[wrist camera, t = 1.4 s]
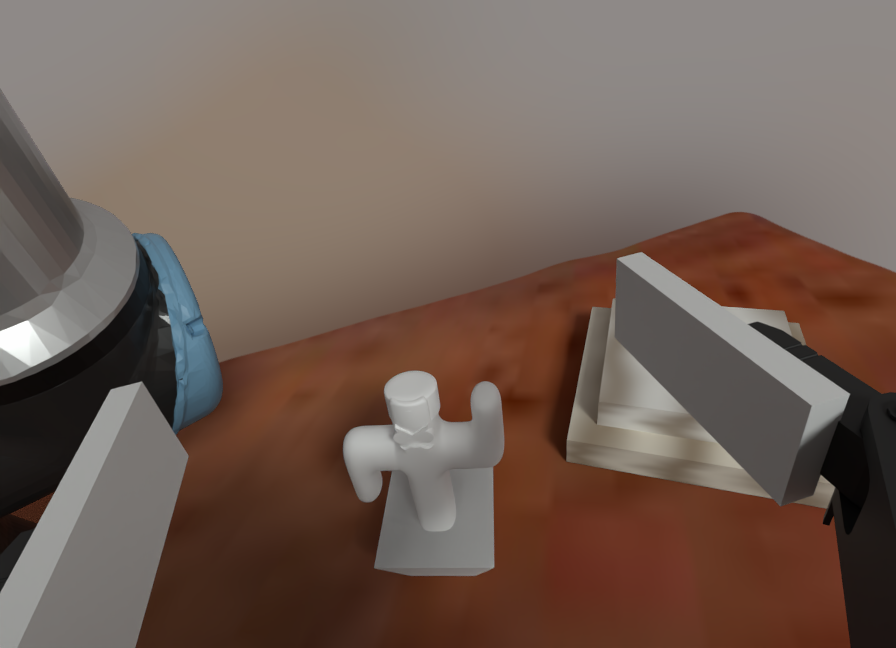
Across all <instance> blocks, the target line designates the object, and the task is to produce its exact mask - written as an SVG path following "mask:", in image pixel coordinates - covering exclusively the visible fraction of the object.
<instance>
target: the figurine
mask: <svg viewBox="0 0 896 648" xmlns="http://www.w3.org/2000/svg"><path fill="white" fill-rule="evenodd" d="M384 395H385V399H386V404H387V409H388V413H389V416H390V418H391V420H392V423H393V425H373V426H359V427H355V428H353V429H351V430H350V431H349V432H348V433H347V434H346V436H345V438H344V442H343V456H344V461H345V464H346V467H347V470H348V473H349V475H350V478H351V481H352V483H353V486H354V489H355V492H356V494H357V496H358V498H359V499H360V500H361V501H363V502H372V501H374V500H375V499H376V498H377V497H378V496H379V494H380V491H381V488H382V475H381V472H380V471H392V474H391V479H390V485H389V490H388V495H387V501H386V506H385V511H384V517H383V522H382V527H381V533H380V538H379V544H378V549H377V554H376V560H375V565H374V568H376V569H380V570H385V571H390V572H395V573H399V574H404V575H409V576H476V575H479V574H481V573H483V572H485V571H488V570H490V569H492V568H494V514H493V466H495V465H496V464H498V463H499V462H500V460H501V458H502V455H503V451H504V429H503V417H502V405H501V397H500V393H499V391H498V389H497V387H496V386H495V385H494V384H493V383H490V382H481V383H479V384H477V385H476V386H475V387H474V389H473V391H472V394H471V411H472V420H471V421H469V422H447V421H444V420H442V419H441V418H440V417H439V414H438V412H439V410H440V401H439V394H438V387H437V382H436V380H435V378H434V377H433V376H432V375H430V374H429V373H426V372H423V371H408V372H403V373H400V374H398V375H396V376H394V377H393V378H391V379H390V380H389V381H388V382H387V383H386V385H385V387H384Z"/></svg>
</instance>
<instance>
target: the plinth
mask: <svg viewBox="0 0 896 648" xmlns="http://www.w3.org/2000/svg"><path fill="white" fill-rule="evenodd" d="M615 305H616V299H613V302H612V308H600V307H592V311H591V317H590V322H589V327H588V332H587V338H586V343H585V348H584V353H583V358H582V364H581V369H580V374H579V379H578V384H577V390H576V395H575V400H574V405H573V411H572V416H571V421H570V426H569V431H568V437H567V459H566V461H567V462H572V463H578V464H583V465H589V466H594V467H600V468H606V469H611V470H617V471H622V472H628V473H633V474H639V475H644V476H650V477H655V478H661V479H666V480H672V481H677V482H683V483H688V484H694V485H700V486H705V487H711V488H716V489H722V490H727V491H733V492H738V493H744V494H749V495H755V496H760V497H766V498H771V499H773V498H772V497H771V496H770V495H769V494H768V493H767V492H766V491H765V490H764V489H763V488H762V487H761V486H760V485H759V484H758V483H757V482H756V481H755V480H754V479H753V478H752V477H751V476H750V475H749V474H748V473H747V472H746V471H745V470H744V469H743V468H742V467H741V466H740V465H739V464H738V463H737V462H736V461H735V460H734V459H733V458H732V456H731V455H730V454H729V453H728V452H727V451H726V450H725V449H724V448H723V447H722V446H721V445H720V444H719V443H718V442H717V441H716V440H715V439H714V438H713V437H712V436H711V435H710V434H709V433H708V432H707V431H706V430H705V429H704V428H703V427H702V426H701V425H700V424H699V423H698V422H697V421H696V420H695V419H694V418H693V417H692V416H691V415H690V414H689V413H688V412H687V411H686V410H685V409H684V408H683V407H682V406H681V405H680V404H679V403H678V402H677V400H676V399H675V398H674V397H673V396H672V395H671V394H670V393H669V392H668V391H667V390H666V389H665V388H664V387H663V386H662V385H661V384H660V383H659V382H658V381H657V380H656V379H655V378H654V377H653V376H652V375H651V374H650V373H649V372H648V371H647V370H646V369H645V368H644V367H643V366H642V365H641V364H640V363H639V362H638V361H637V360H636V359H635V358H634V357H633V356H632V355H631V354H630V353H629V352H628V351H627V350H626V349H625V348H624V347H623V346H622V345H621V343H620V342H619V341H618V340H617V339H616V338H615ZM721 307H722V306H721ZM723 308H724V309H726V310H727V311H729V312H730V313H732V314H733V315H735V316H736V317H738V318H739V319H740V320H742V321H743V322H745V323H746V324H750V323H753V322H757V321H758V322H761V323H764V324H767V325H769V326H772V327H775V328H778V329H781V330H783V331H784V332H786V333H787V334H789V335H791V336H792V337H794V338H795V339H797V340H798V341H800V342H801V344H802V345H806V343H805V340H804V337H803V334H802V331H801V329H800V326H799V323H788V321H787V318H786V315H785V312H784V311H776V310H763V309H749V308H735V307H723ZM834 489H835V487H834V486H833V485H832V484H831V483H830V482H829V481H827V480H826V479H825V478H824V477H823V476H822V475H821V476H820V478H819V481H818V484H817V487H816V489H815V492H814V495H813V496H810V497H807V498H804V499H801V500H798V501H795V502H794V503H799V504H805V505H810V506H816V507H821V508H827V507H828V505H829V502H830V500H831V497H832V494H833V492H834Z"/></svg>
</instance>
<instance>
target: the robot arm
mask: <svg viewBox="0 0 896 648" xmlns="http://www.w3.org/2000/svg"><path fill="white" fill-rule="evenodd" d="M615 338H616V339H617V340H618V341H619V342H620V343H621V345H622V346H623V347H624V348H625V349H626V350H627V351H628V352H629V353H630V354H631V355H632V356H633V357H634V358H635V359H636V360H637V361H638V362H639V363H640V364H641V365H642V366H643V367H644V368H645V369H646V370H647V371H648V372H649V373H650V374H651V375H652V376H653V377H654V378H655V379H656V380H657V381H658V382H659V383H660V384H661V385H662V386H663V387H664V388H665V389H666V390H667V391H668V392H669V393H670V394H671V395H672V396H673V397H674V398H675V399H676V400H677V402H678V403H679V404H680V405H681V406H682V407H683V408H684V409H685V410H686V411H687V412H688V413H689V414H690V415H691V416H692V417H693V418H694V419H695V420H696V421H697V422H698V423H699V424H700V425H701V426H702V427H703V428H704V429H705V430H706V431H707V432H708V433H709V434H710V435H711V436H712V437H713V438H714V439H715V440H716V441H717V442H718V443H719V444H720V445H721V446H722V447H723V448H724V449H725V450H726V451H727V452H728V453H729V454H730V455H731V456H732V458H733V459H734V460H735V461H736V462H737V463H738V464H739V465H740V466H741V467H742V468H743V469H744V470H745V471H746V472H747V473H748V474H749V475H750V476H751V477H752V478H753V479H754V480H755V481H756V482H757V483H758V484H759V485H760V486H761V487H762V488H763V489H764V490H765V491H766V492H767V493H768V494H769V495H770V496H771V497H772V498H773V499H774V500H775V501H776V502H777V503H778V504H779V505H780V506H783V505H786V504H789V503H792V502H795V501H798V500H801V499H804V498H807V497H810V496H813V495H814V492H815V489H816V487H817V484H818V481H819V478H820V476H821V475H822V476H823V477H824V478H825V479H826V480H827V481H829V482H830V483H831V484H832V485H833V486H834V487H835V489H834V492H833V494H832V497H831V500H830V502H829V505H828V507H827V510H826V512H825V515H824V519H823V524H825V525H830V522H831V520H832V517H833V516H834V520H835V528H836V535H837V543H838V551H839V559H840V567H841V574H842V582H843V590H844V598H845V606H846V613H847V621H848V629H849V637H850V645H851V648H896V393H891V392H890V393H885V394H881V393H879V392H878V391H876V390H875V389H873V388H872V387H870V386H868V385H867V384H865V383H864V382H862V381H861V380H859V379H858V378H856V377H854V376H853V375H851V374H850V373H848V372H847V371H845V370H844V369H842V368H840V367H839V366H837V365H836V364H834V363H833V362H831V361H830V360H828V359H826V358H825V357H823V356H822V355H820V356H818V354H817V352H816V351H814V350H812V349H811V348H809V347H808V346H806V345H802V344H801V342H800V341H798V340H797V339H795V338H794V337H792V336H791V335H789V334H787V333H786V332H784V331H783V330H781V329H778V328H775V327H772V326H769V325H767V324H764V323H761V322H758V321H757V322H753V323H750V324H746V323H745V322H743V321H742V320H740V319H739V318H738V317H736V316H735V315H733V314H732V313H730V312H729V311H727V310H726V309H724V308H723V307H721V306H720V305H718V304H717V303H715V302H714V301H713V300H711V299H710V298H708V297H707V296H705V295H704V294H702V293H701V292H699V291H698V290H696V289H695V288H693V287H692V286H690V285H689V284H688V283H686V282H685V281H683V280H682V279H680V278H679V277H677V276H676V275H674V274H673V273H671V272H670V271H668V270H667V269H665V268H664V267H662V266H661V265H660V264H658V263H657V262H655V261H654V260H652V259H651V258H649V257H648V256H646V255H645V254H643V253H642V252H640V253H636V254H632V255H629V256H625V257H621V258H617V270H616V305H615ZM222 393H223V381H222V375H221V370H220V366H219V362H218V359H217V355H216V352H215V349H214V346H213V343H212V340H211V337H210V334H209V332H208V330H207V328H206V326H205V325H204V324H203V317H202V315H201V312H200V309H199V305H198V302H197V300H196V297H195V295H194V293H193V290H192V288H191V286H190V284H189V281H188V279H187V277H186V275H185V273H184V270H183V268H182V266H181V264H180V262H179V261H178V259H177V257H176V255H175V253H174V252H173V250H172V249H171V247H170V246H169V244H168V243H167V241H166V240H165V239H164V238H163V237H162V236H160V235H158V234H153V233H147V234H138V233H133V234H131V233H130V231H129V229H128V228H127V227H126V226H125V225H124V224H123V223H122V222H121V221H120V220H119V219H118V218H117V217H116V216H115V215H114V214H112V213H110V212H109V211H107V210H105V209H103V208H102V207H99V206H97V205H94V204H92V203H89V202H86V201H82V200H78V199H74V198H69V197H68V195H67V193H66V192H65V191H64V189H63V187H62V185H61V184H60V182H59V181H58V179H57V178H56V176H55V174H54V173H53V171H52V170H51V168H50V167H49V165H48V163H47V162H46V160H45V159H44V157H43V155H42V154H41V152H40V151H39V149H38V148H37V146H36V145H35V143H34V141H33V140H32V138H31V137H30V135H29V133H28V132H27V130H26V129H25V127H24V125H23V124H22V122H21V121H20V119H19V118H18V116H17V114H16V113H15V111H14V110H13V109H12V106H11V105H10V104H9V102H8V100H7V99H6V97H5V95H4V94H3V92H2V91H1V89H0V648H135V647H136V643H137V640H138V636H139V632H140V629H141V625H142V622H143V618H144V615H145V611H146V607H147V604H148V600H149V597H150V593H151V589H152V586H153V582H154V579H155V575H156V571H157V568H158V564H159V561H160V557H161V554H162V550H163V546H164V543H165V539H166V536H167V532H168V528H169V525H170V521H171V518H172V514H173V510H174V507H175V503H176V500H177V496H178V493H179V489H180V485H181V482H182V478H183V475H184V471H185V467H186V464H187V460H188V457H189V456H188V454H187V453H186V451H185V449H184V448H183V446H182V445H181V443H180V441H179V440H178V438H177V437H176V434H177V433H178V431H180V430H181V429H183V428H185V427H187V426H189V425H191V424H192V423H194V422H196V421H198V420H200V419H202V418H203V417H205V416H207V415H208V414H210V413H211V412H212V411H213V410H214V409H215V408H216V407H217V406H218V404H219V402H220V400H221V397H222ZM53 492H55V493H54V495H53V497H52V499H51V500H50V502H49V504H48V506H47V508H46V510H45V511H44V513H43V515H42V517H41V519H40V521H39V522H38V524H37V523H34V522H31V521H28V520H25V519H22V518H19V517H17V516H14V515H11V514H10V513H12V512H14V511H16V510H18V509H21V508H23V507H25V506H27V505H29V504H31V503H33V502H35V501H37V500H39V499H41V498H43V497H45V496H47V495H49V494H51V493H53Z"/></svg>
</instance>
